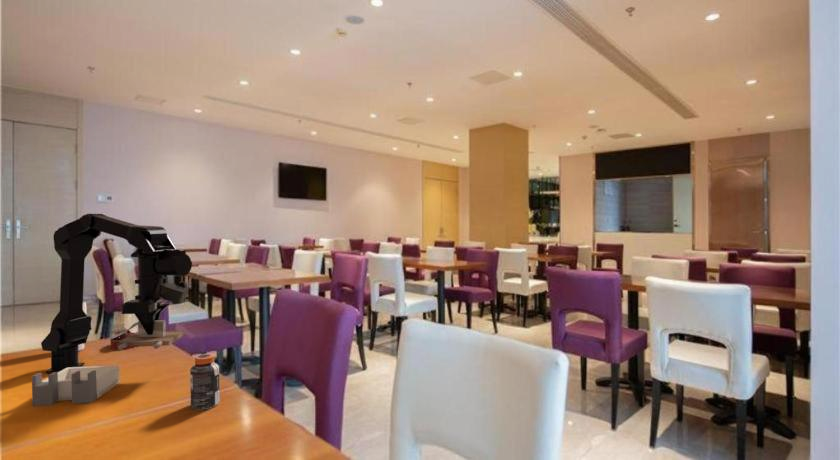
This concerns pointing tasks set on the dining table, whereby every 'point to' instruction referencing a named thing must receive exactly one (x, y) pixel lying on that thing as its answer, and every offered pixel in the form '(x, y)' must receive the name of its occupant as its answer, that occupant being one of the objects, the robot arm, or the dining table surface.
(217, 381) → the pill bottle
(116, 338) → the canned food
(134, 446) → the dining table surface
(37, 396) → the grey notched open box
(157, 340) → the grey tabbed base plate
